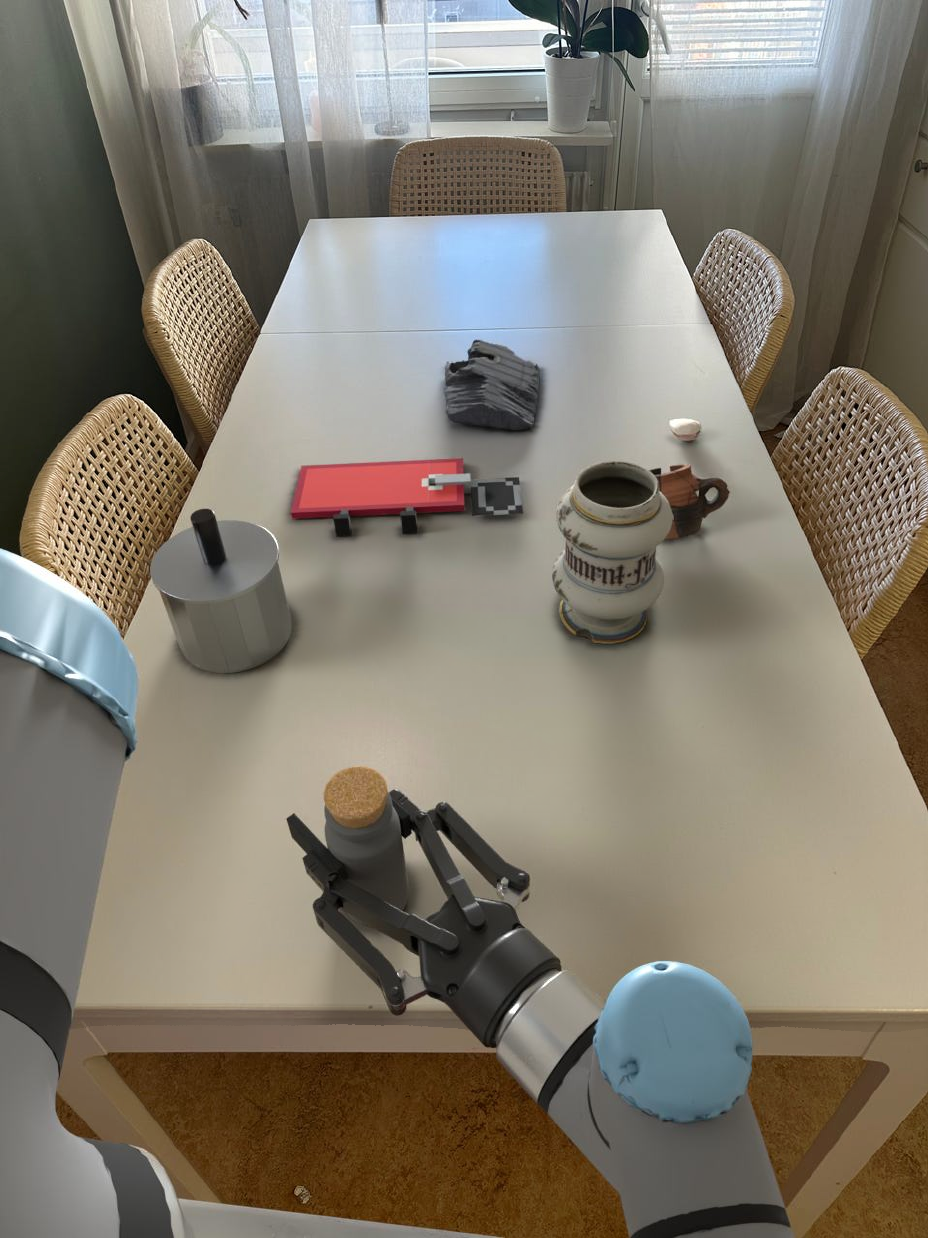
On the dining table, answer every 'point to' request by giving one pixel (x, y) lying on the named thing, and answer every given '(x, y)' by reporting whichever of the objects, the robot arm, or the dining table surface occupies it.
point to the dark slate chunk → (492, 388)
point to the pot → (233, 628)
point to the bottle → (366, 834)
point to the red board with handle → (399, 491)
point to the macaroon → (685, 429)
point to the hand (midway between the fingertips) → (326, 802)
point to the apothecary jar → (610, 550)
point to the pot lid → (214, 560)
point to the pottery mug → (689, 498)
